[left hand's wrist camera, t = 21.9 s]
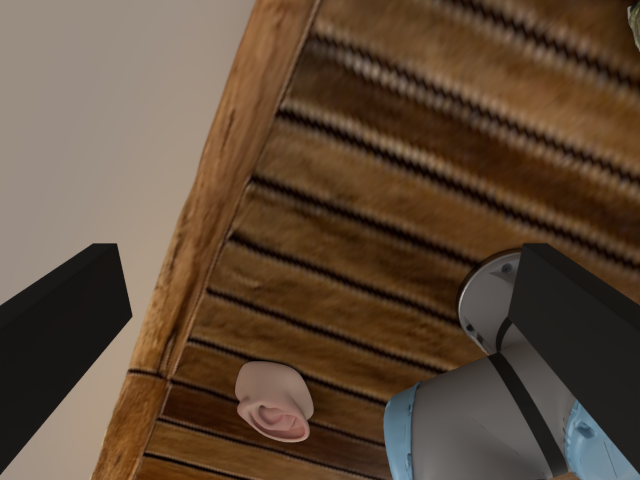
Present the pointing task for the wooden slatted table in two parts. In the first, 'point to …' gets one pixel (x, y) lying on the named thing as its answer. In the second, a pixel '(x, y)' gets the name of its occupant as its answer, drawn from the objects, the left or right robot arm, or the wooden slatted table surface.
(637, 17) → the fossil
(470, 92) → the wooden slatted table surface
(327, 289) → the wooden slatted table surface
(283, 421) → the anatomical model
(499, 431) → the left robot arm
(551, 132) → the wooden slatted table surface
